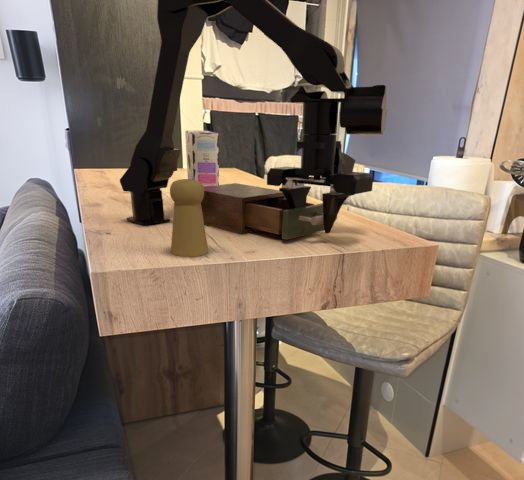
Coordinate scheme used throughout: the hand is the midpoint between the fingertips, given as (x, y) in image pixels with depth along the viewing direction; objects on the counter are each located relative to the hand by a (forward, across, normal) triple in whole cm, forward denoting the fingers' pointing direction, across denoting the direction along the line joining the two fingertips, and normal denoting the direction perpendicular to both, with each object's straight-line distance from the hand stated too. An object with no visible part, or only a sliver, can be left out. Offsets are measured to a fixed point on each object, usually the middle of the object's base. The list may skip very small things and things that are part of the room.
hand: (314, 230), depth 81 cm
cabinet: (+1, +19, 0) cm, 19 cm away
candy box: (+1, +37, -6) cm, 38 cm away
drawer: (+1, +6, 0) cm, 6 cm away
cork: (+2, +9, +21) cm, 23 cm away
